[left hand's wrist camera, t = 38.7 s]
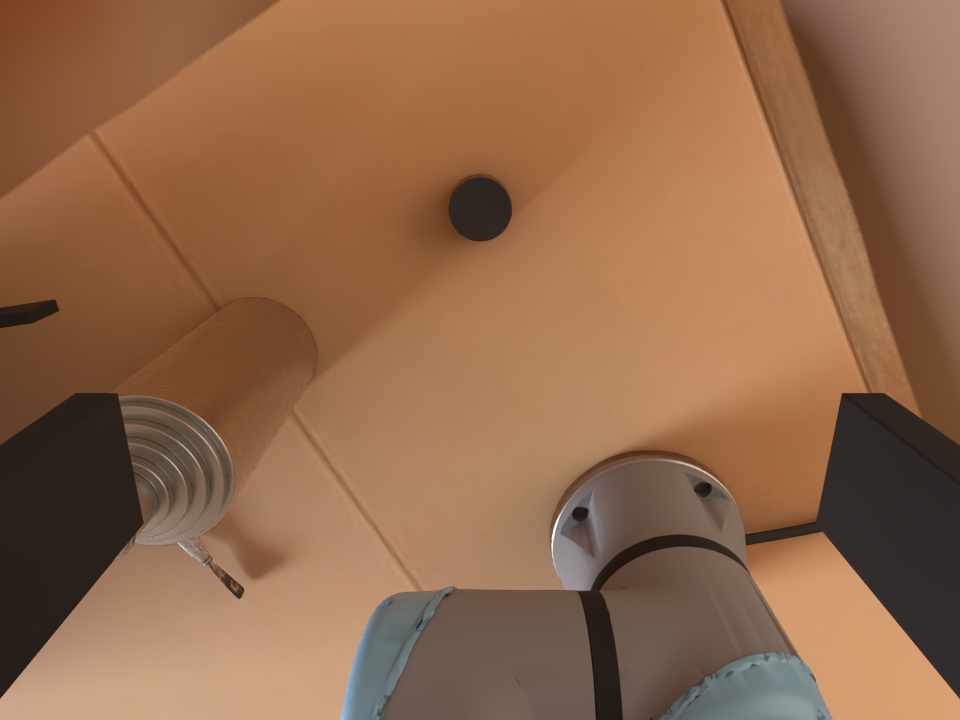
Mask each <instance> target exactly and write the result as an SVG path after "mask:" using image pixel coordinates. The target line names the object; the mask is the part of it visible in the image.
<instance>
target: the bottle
mask: <svg viewBox="0 0 960 720" xmlns="http://www.w3.org/2000/svg"><path fill="white" fill-rule="evenodd" d="M316 363H317V351H316V345H315V341H314V339H313V336H312V334H311V332H310V330H309V328H308V327H307V325H306V324H305V323H304V321H303V320H302V319H301V318H300V317H299V316H298V315H297V314H296V313H294V312H293V311H292V310H290V309H289V308H287V307H286V306H284V305H282V304H280V303H277V302H275V301H272V300H268V299H262V298H246V299H241V300H237V301H234V302H232V303H230V304H228V305H226V306H225V307H223V308H222V309H220V310H219V311H218V312H216V313H215V314H214V315H212V316H211V317H210V318H208V319H207V320H206V321H204V322H203V323H202V324H200V325H199V326H198V327H196V328H195V329H194V330H192V331H191V332H190V333H188V334H187V335H186V336H184V337H183V338H182V339H180V340H179V341H178V342H176V343H175V344H174V345H172V346H171V347H170V348H168V349H167V350H166V351H164V352H163V353H162V354H161V355H159V356H158V357H157V358H155V359H154V360H153V361H151V362H150V363H149V364H147V365H146V366H145V367H143V368H142V369H141V370H139V371H138V372H137V373H135V374H134V375H133V376H131V377H130V378H129V379H127V380H126V381H125V382H123V383H122V384H121V385H119V386H118V387H117V388H115V389H114V390H113V391H111V392H110V393H118V396H119V401H120V406H121V411H122V416H123V421H124V426H125V431H126V436H127V441H128V446H129V451H130V456H131V461H132V466H133V471H134V476H135V481H136V486H137V491H138V496H139V501H140V506H141V511H142V516H143V521H144V524H143V525H142V526H141V528H140V529H139V530H138V531H137V533H136V534H135V535H134V536H133V537H132V539H131V540H130V541H129V542H128V544H127V545H126V546H125V547H124V548H123V550H122V551H121V552H120V553H119V555H118V556H117V557H116V558H115V559H114V561H116V560H118V559H120V558H122V557H123V556H124V555H125V554H126V553H127V552H128V551H129V549H130V548H131V547H132V546H133V544H134V543H138V544H143V545H170V544H176V543H180V542H184V541H188V540H191V539H194V538H196V537H199V536H201V535H203V534H204V533H206V532H208V531H209V530H211V529H212V528H213V527H215V526H216V525H217V524H218V523H219V522H220V521H221V520H222V518H223V517H224V516H225V514H226V513H227V511H228V510H229V508H230V507H231V505H232V504H233V502H234V500H235V499H236V497H237V496H238V494H239V492H240V491H241V489H242V488H243V486H244V485H245V483H246V481H247V480H248V478H249V477H250V475H251V474H252V472H253V470H254V469H255V467H256V466H257V464H258V463H259V461H260V459H261V458H262V456H263V455H264V453H265V452H266V450H267V448H268V447H269V445H270V444H271V442H272V441H273V439H274V437H275V436H276V434H277V433H278V431H279V430H280V428H281V426H282V425H283V423H284V422H285V420H286V418H287V417H288V415H289V414H290V412H291V411H292V409H293V407H294V406H295V404H296V403H297V401H298V400H299V398H300V396H301V395H302V393H303V392H304V390H305V389H306V387H307V385H308V384H309V382H310V381H311V379H312V377H313V375H314V372H315V369H316Z"/></svg>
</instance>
